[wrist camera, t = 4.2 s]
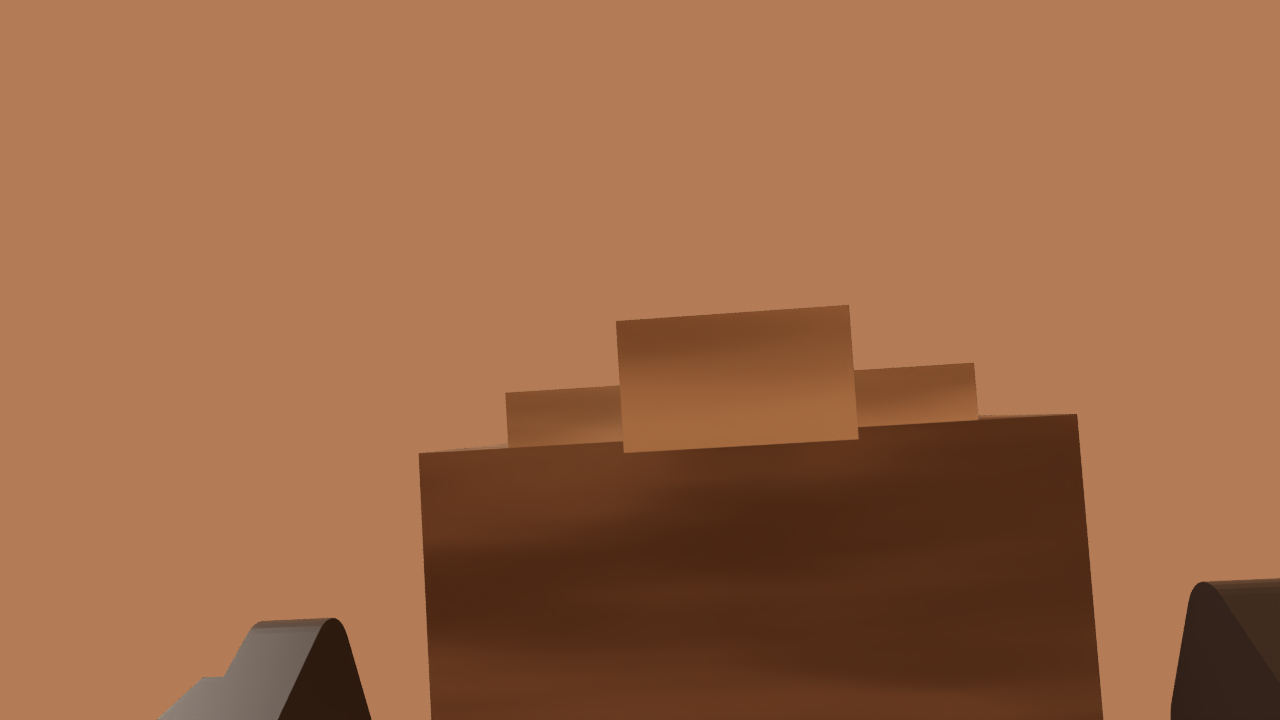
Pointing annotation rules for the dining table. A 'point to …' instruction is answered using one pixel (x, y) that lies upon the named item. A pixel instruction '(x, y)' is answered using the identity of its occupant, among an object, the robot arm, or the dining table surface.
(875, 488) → the walnut plinth
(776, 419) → the tan stepped slab
